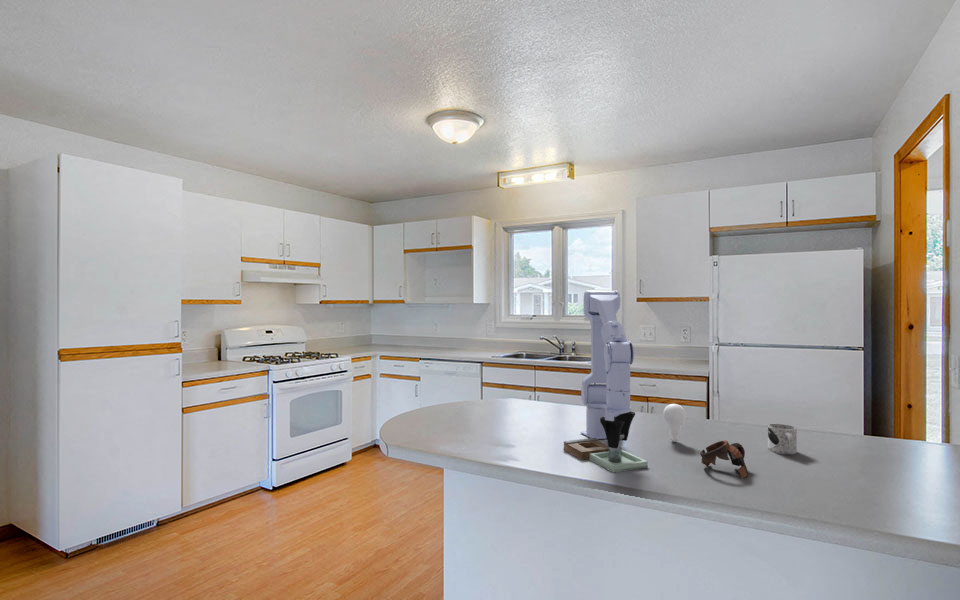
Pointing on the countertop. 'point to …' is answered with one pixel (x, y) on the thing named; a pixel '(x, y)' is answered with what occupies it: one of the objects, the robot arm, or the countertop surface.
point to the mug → (782, 439)
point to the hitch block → (585, 447)
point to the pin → (616, 451)
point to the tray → (626, 464)
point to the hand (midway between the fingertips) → (617, 443)
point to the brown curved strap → (725, 455)
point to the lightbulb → (674, 420)
